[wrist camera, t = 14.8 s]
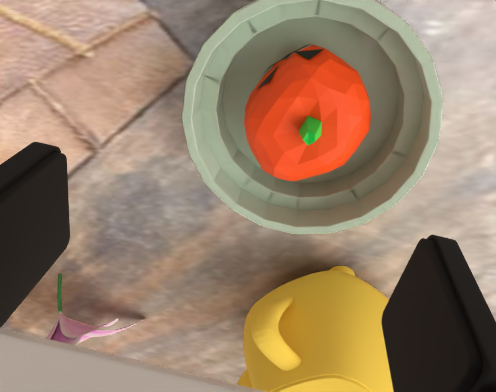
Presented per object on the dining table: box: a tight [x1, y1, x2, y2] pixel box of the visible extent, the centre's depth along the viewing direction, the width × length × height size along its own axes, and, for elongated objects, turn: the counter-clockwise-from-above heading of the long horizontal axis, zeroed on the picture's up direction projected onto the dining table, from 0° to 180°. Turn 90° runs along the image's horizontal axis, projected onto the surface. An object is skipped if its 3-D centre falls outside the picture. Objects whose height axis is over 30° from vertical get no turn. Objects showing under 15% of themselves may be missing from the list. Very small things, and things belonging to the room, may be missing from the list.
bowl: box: [182, 0, 443, 234], centre depth 26 cm, size 14×14×5 cm
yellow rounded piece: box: [237, 266, 394, 392], centre depth 32 cm, size 14×14×12 cm
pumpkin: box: [244, 43, 371, 181], centre depth 24 cm, size 7×8×6 cm
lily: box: [46, 274, 145, 345], centre depth 37 cm, size 12×12×10 cm
